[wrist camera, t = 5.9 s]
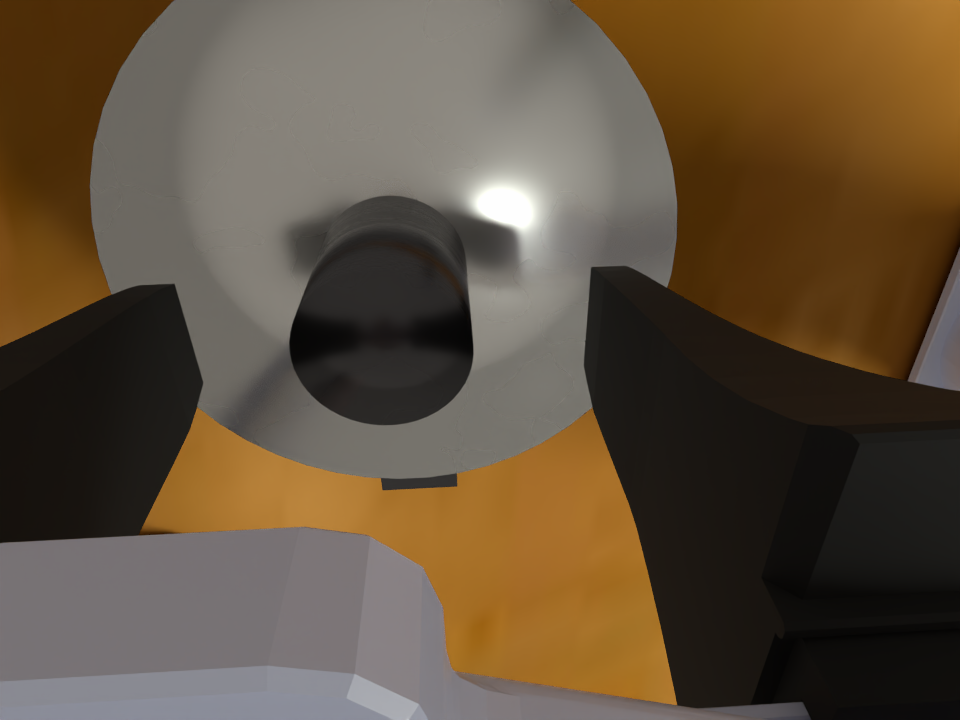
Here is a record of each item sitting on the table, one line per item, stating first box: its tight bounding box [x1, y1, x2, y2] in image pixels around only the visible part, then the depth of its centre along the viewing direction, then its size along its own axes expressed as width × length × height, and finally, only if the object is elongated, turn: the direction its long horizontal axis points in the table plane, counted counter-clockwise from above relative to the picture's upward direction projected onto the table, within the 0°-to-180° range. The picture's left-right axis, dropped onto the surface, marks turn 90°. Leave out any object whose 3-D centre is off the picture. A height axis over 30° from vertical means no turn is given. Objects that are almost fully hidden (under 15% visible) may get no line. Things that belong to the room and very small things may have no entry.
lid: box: [90, 0, 677, 479], centre depth 12 cm, size 11×11×4 cm
